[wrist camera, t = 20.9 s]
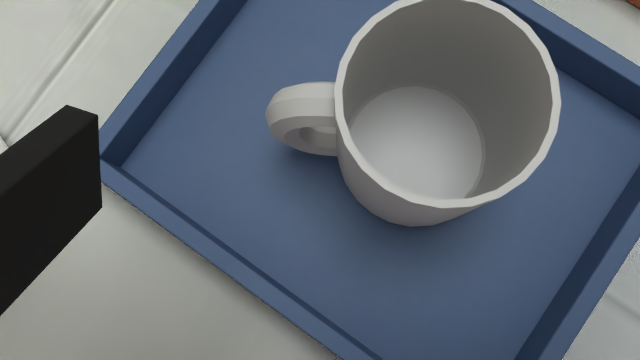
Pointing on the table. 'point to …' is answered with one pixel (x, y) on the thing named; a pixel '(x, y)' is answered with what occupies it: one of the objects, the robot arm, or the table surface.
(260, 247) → the blue tray
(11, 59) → the table surface
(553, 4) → the table surface
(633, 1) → the terracotta tray
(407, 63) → the cup
